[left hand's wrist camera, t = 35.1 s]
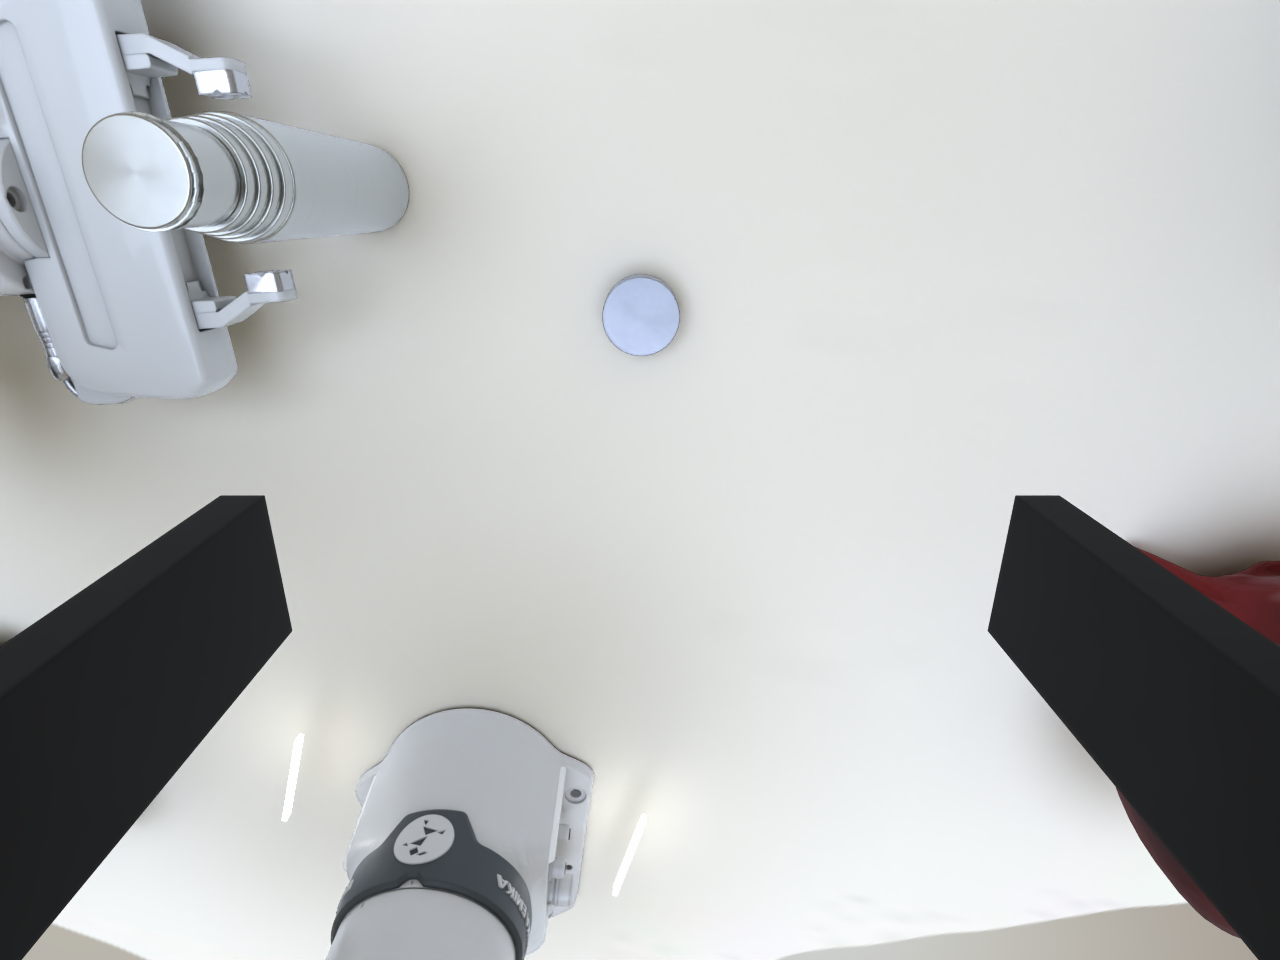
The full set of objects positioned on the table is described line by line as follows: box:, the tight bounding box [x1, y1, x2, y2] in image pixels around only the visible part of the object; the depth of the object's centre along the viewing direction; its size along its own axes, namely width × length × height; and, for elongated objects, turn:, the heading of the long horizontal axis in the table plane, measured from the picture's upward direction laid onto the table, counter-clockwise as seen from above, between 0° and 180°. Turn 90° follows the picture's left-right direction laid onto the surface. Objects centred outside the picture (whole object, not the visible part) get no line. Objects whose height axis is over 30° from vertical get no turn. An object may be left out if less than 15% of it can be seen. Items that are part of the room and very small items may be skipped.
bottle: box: [82, 111, 409, 244], centre depth 32 cm, size 5×5×20 cm
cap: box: [603, 274, 680, 356], centre depth 43 cm, size 5×4×2 cm
